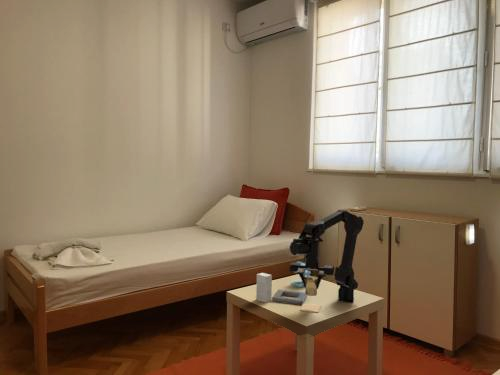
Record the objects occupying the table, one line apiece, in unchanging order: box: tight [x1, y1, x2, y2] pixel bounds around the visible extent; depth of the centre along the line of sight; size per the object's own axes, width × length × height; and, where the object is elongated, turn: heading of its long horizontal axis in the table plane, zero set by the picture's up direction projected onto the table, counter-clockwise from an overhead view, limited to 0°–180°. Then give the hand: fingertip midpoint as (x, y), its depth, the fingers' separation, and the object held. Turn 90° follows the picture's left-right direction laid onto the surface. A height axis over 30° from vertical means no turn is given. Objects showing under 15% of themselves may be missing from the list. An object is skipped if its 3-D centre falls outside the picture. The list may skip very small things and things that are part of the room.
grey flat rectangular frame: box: [271, 289, 308, 306], centre depth 188 cm, size 14×12×2 cm
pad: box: [299, 302, 322, 314], centre depth 176 cm, size 8×8×1 cm
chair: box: [290, 261, 312, 288], centre depth 210 cm, size 8×8×12 cm
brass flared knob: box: [304, 275, 318, 297], centre depth 175 cm, size 6×6×7 cm
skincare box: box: [255, 272, 273, 304], centre depth 185 cm, size 6×4×12 cm
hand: (311, 288), depth 175 cm, fingers closed on brass flared knob, 5 cm apart
